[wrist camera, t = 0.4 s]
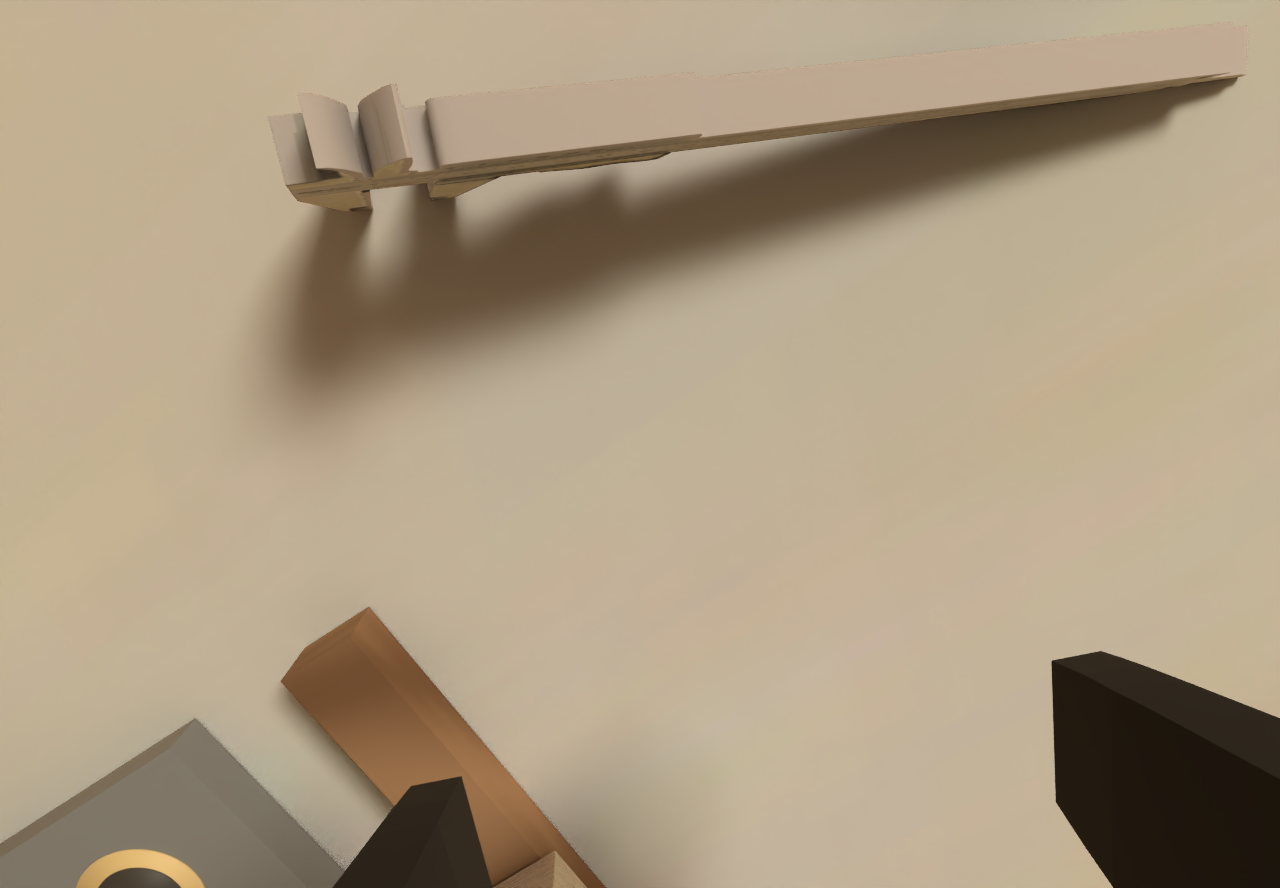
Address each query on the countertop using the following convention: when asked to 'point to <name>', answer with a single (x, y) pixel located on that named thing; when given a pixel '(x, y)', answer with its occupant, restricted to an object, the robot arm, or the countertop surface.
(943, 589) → the countertop surface
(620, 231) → the countertop surface
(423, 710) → the rail
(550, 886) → the orange handled lever
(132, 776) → the bolt plate
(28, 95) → the countertop surface
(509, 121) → the caliper
